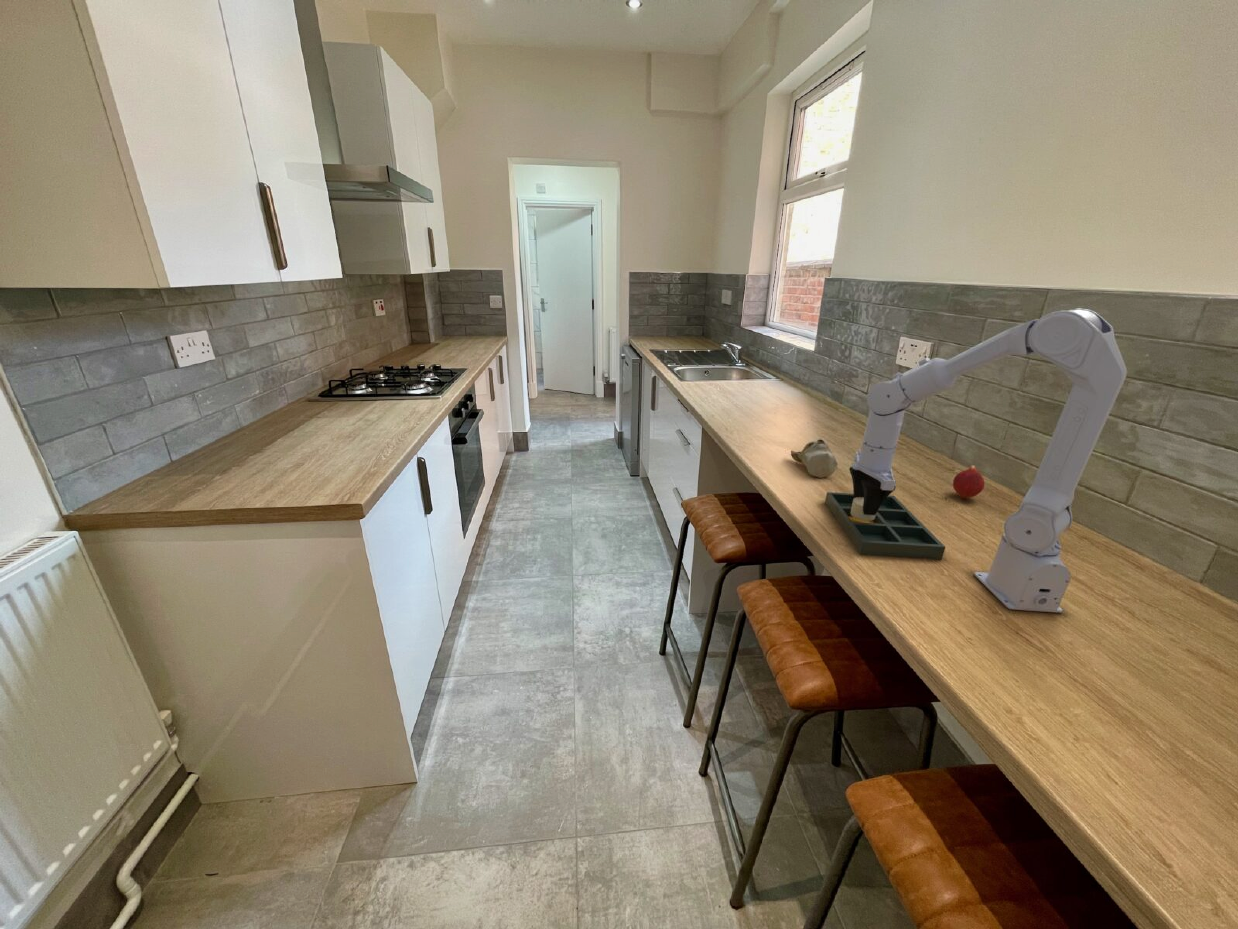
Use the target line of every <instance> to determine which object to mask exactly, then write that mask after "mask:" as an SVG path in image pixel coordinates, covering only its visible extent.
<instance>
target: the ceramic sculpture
mask: <svg viewBox="0 0 1238 929" xmlns="http://www.w3.org/2000/svg"><path fill="white" fill-rule="evenodd" d="M790 456H791V458H792V460H794V461H795V462H797V463H800V464H803V465H804V466H805V467H806V470H807V472H808V474H809V475H810V476H812V477H816V478H819V479H820V478H822V479H823V478H827V477H830V476H831V475H833V474H834V473H835V471H836V470H837V468H838V465H839V463H838V461H837V459H836V457H835V455H834V454H833V452H832V450H831V449H830V447H829V445H828V444H827V443H826V442H825V441H824V440H823V439H817V441H810V442H808V443H807V444H805V445H804V447H803V449H802V450H801V451H794V450H791V451H790Z"/></svg>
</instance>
